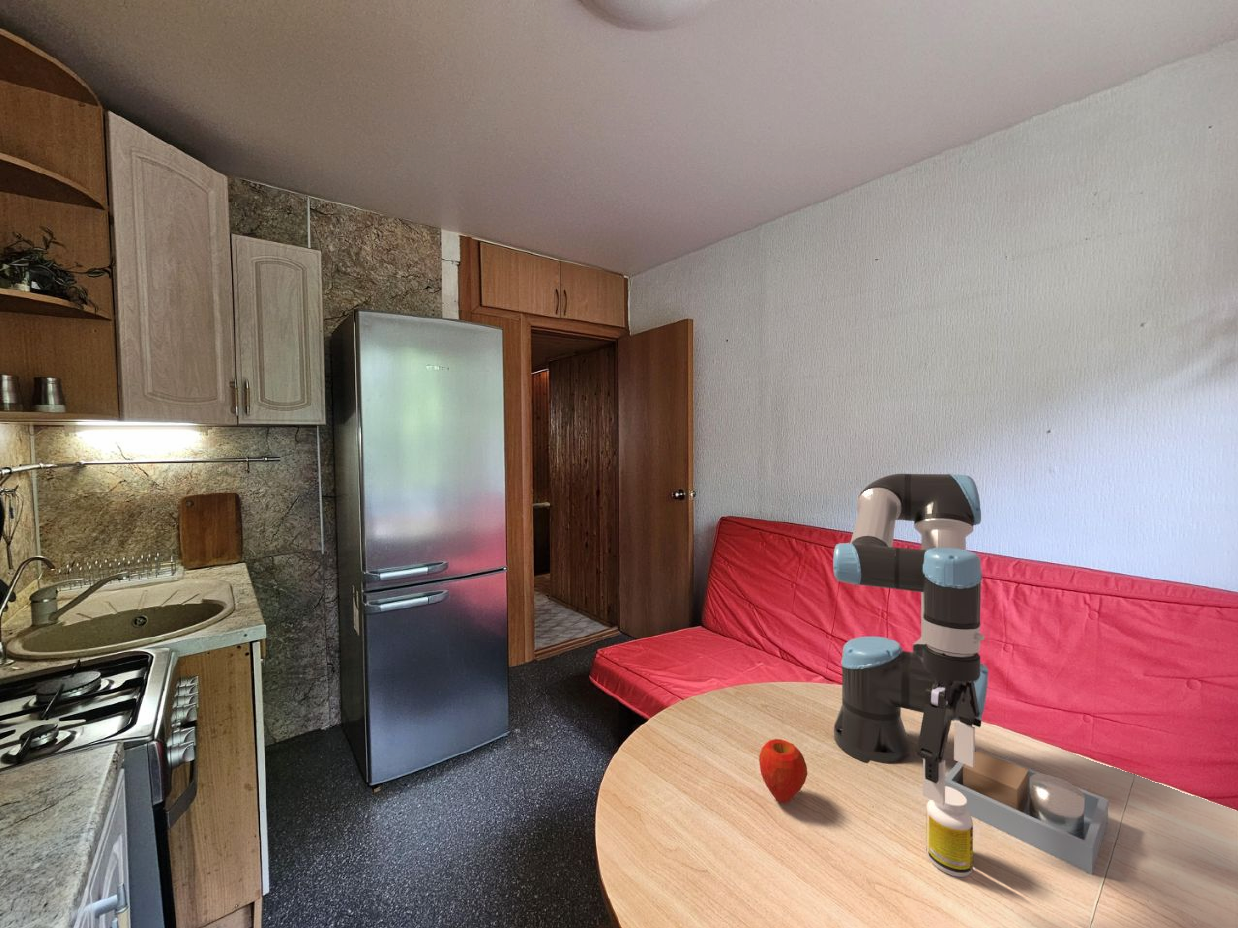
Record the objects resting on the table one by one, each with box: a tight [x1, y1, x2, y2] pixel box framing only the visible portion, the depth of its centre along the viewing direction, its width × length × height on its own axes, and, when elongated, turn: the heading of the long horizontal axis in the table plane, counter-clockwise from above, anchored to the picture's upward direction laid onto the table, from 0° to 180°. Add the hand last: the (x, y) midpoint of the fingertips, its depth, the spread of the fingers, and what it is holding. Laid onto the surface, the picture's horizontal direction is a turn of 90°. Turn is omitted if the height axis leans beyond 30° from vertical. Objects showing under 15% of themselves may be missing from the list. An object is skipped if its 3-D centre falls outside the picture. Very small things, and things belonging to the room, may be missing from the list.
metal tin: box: [1029, 773, 1085, 840], centre depth 84 cm, size 7×7×7 cm
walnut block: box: [963, 750, 1029, 812], centre depth 91 cm, size 8×8×6 cm
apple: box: [758, 738, 808, 804], centre depth 93 cm, size 9×8×11 cm
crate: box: [945, 746, 1109, 875], centre depth 88 cm, size 20×16×5 cm
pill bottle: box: [925, 786, 974, 878], centre depth 78 cm, size 6×6×11 cm
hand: (949, 780), depth 78 cm, fingers open, 13 cm apart
